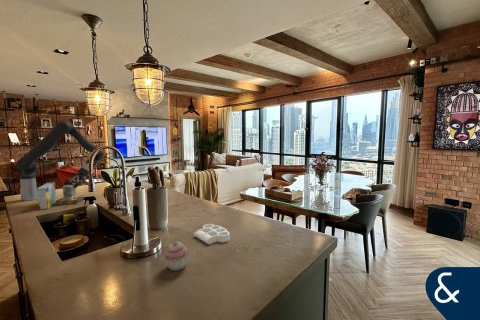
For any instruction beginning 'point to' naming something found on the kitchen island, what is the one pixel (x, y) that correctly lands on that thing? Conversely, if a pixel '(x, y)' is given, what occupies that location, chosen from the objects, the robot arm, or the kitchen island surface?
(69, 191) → the pallet crate
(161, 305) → the kitchen island surface
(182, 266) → the cupcake
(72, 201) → the dock
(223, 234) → the white paint palette
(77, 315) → the kitchen island surface
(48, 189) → the snack box
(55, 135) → the robot arm
